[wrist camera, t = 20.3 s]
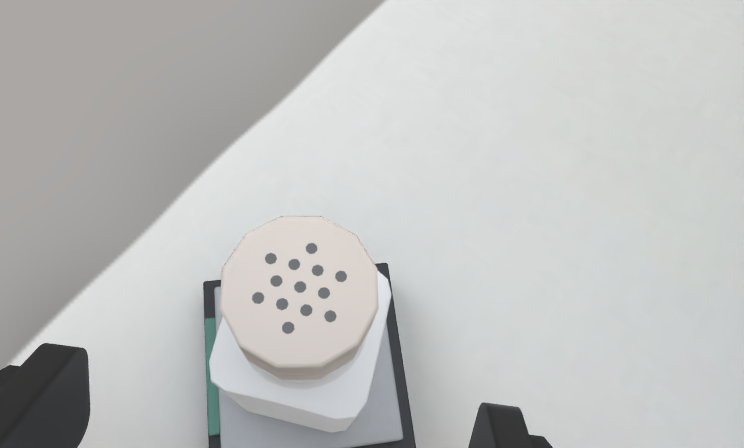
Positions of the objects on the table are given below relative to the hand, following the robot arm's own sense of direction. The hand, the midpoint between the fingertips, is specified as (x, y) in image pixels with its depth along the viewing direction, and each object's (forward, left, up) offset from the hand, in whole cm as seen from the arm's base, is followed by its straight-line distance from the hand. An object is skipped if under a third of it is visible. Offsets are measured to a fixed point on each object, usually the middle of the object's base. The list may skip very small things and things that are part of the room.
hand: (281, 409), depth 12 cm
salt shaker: (+1, +2, -8) cm, 9 cm away
